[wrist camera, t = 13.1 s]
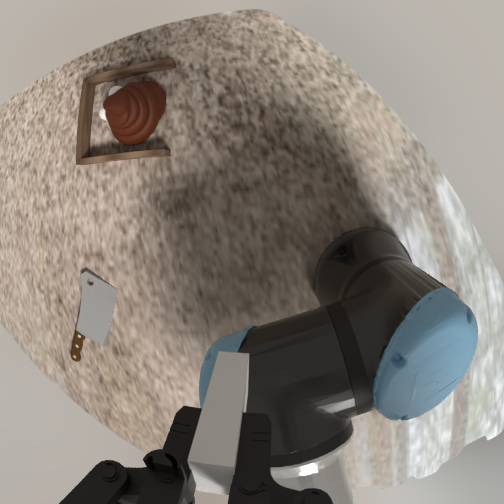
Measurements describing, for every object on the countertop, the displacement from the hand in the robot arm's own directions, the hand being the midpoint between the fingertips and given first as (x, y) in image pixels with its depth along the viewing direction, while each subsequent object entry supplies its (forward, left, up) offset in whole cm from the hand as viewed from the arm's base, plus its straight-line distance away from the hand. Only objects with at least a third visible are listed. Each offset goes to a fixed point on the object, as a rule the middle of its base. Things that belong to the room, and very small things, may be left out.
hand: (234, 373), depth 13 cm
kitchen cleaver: (+31, +17, -27) cm, 45 cm away
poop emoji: (+18, -20, -27) cm, 38 cm away
